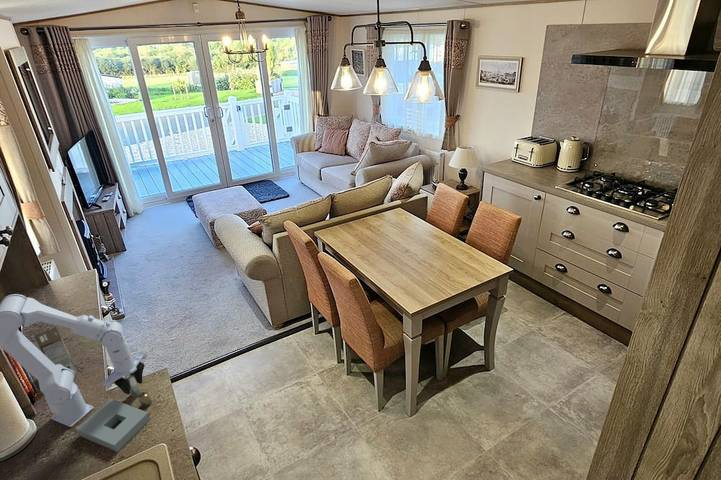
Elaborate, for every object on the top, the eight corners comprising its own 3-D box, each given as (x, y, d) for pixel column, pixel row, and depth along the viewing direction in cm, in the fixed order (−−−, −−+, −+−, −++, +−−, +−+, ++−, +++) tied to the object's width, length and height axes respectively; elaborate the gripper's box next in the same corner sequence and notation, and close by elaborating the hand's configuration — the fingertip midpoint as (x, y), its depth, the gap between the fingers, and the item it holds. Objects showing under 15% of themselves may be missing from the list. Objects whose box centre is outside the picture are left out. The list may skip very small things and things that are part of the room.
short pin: (139, 406, 132) (136, 397, 130) (147, 399, 134) (143, 390, 132) (146, 409, 131) (143, 400, 129) (153, 402, 133) (150, 393, 131)
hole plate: (79, 435, 123) (75, 428, 121) (114, 405, 133) (111, 398, 131) (117, 452, 117) (114, 445, 116) (150, 419, 127) (148, 412, 126)
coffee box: (51, 369, 149) (34, 334, 141) (71, 360, 153) (55, 326, 145) (57, 382, 143) (39, 347, 135) (78, 372, 147) (61, 337, 139)
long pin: (129, 396, 136) (121, 378, 132) (136, 389, 138) (129, 372, 135) (135, 398, 135) (128, 380, 131) (142, 391, 137) (136, 374, 134)
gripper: (109, 375, 122) (123, 407, 128) (148, 344, 134) (159, 375, 140) (93, 369, 124) (107, 401, 130) (132, 339, 136) (144, 370, 142)
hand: (133, 387), depth 135 cm, fingers open, 4 cm apart
